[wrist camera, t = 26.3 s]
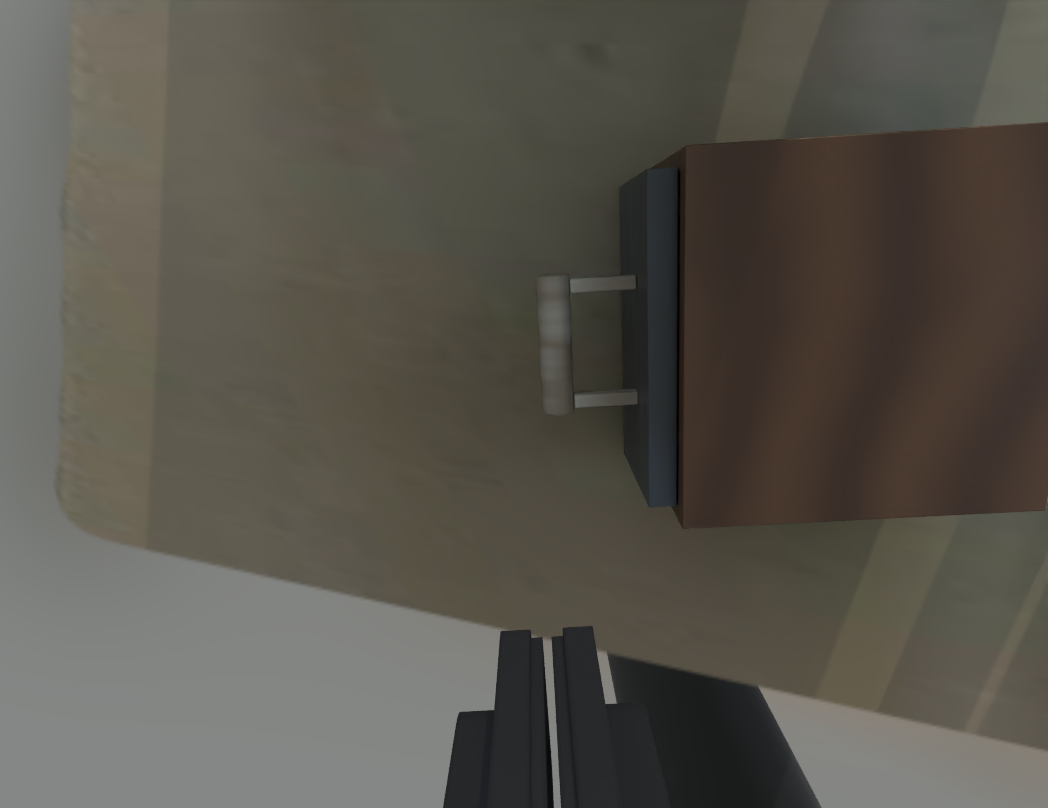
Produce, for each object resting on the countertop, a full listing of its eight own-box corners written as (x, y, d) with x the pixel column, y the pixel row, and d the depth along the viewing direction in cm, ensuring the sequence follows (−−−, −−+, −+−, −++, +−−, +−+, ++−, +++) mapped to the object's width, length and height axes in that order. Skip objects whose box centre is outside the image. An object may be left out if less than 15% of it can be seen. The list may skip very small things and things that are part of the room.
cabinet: (643, 457, 33) (682, 529, 25) (641, 173, 29) (685, 145, 21) (914, 443, 33) (1046, 510, 24) (946, 154, 29) (1113, 117, 21)
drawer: (544, 458, 32) (548, 513, 26) (530, 191, 29) (531, 176, 22) (882, 440, 32) (974, 491, 25) (907, 168, 28) (1022, 145, 22)
